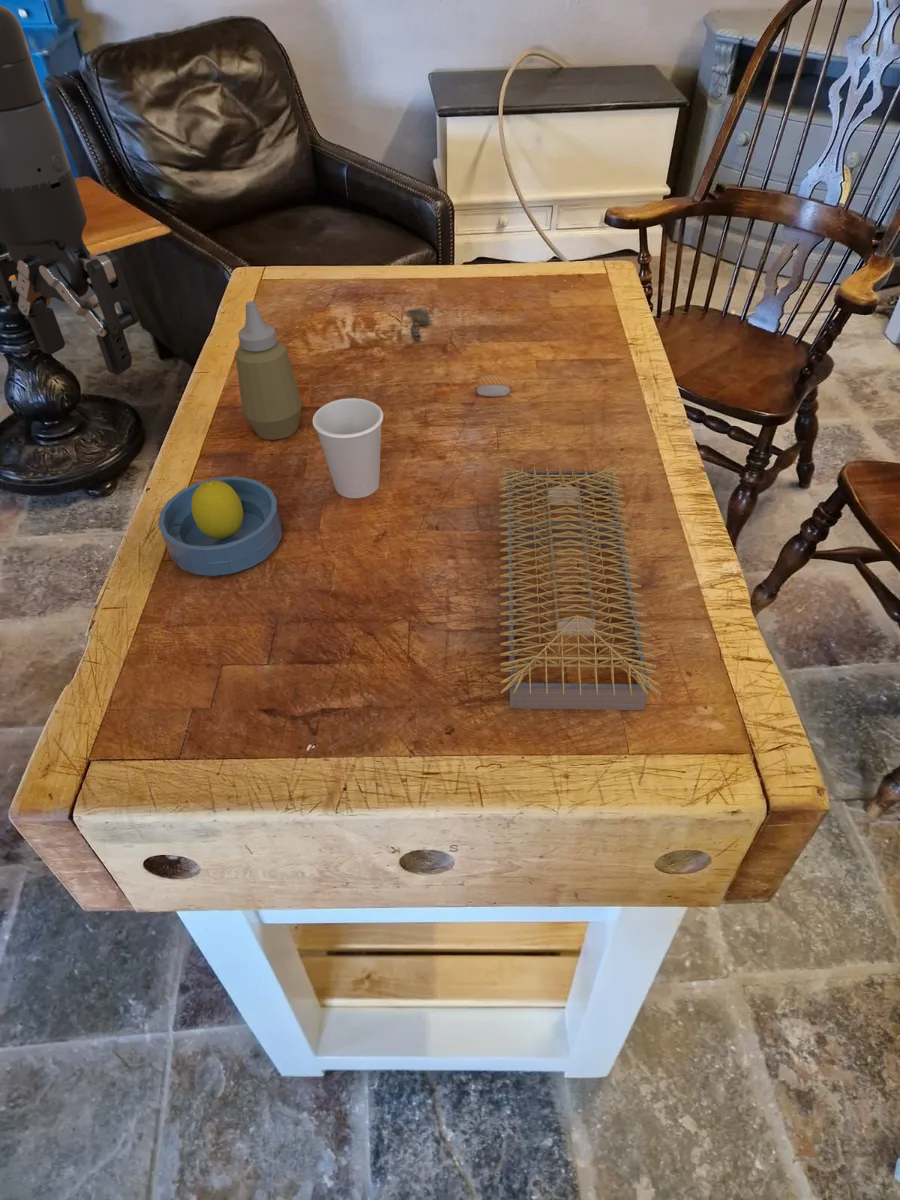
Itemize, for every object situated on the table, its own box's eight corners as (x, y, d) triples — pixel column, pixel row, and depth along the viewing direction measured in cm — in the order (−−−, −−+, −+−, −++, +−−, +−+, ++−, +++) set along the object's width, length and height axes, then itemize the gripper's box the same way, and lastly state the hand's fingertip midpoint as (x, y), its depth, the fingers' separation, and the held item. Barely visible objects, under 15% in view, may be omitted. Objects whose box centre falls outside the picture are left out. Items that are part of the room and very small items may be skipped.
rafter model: (499, 488, 100) (499, 447, 95) (615, 489, 99) (621, 447, 95) (500, 715, 75) (501, 673, 71) (655, 718, 74) (666, 675, 70)
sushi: (514, 398, 115) (514, 379, 112) (469, 398, 115) (469, 380, 113) (513, 389, 116) (514, 370, 114) (470, 389, 117) (469, 370, 115)
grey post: (437, 311, 135) (408, 311, 136) (437, 304, 134) (408, 304, 135) (424, 342, 127) (394, 341, 127) (424, 335, 126) (393, 334, 127)
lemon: (258, 529, 94) (244, 474, 89) (230, 558, 91) (214, 502, 85) (220, 517, 96) (204, 463, 91) (191, 545, 93) (172, 490, 87)
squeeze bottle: (318, 427, 111) (296, 301, 98) (271, 452, 107) (243, 324, 94) (282, 407, 115) (257, 283, 102) (236, 430, 111) (204, 305, 98)
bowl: (236, 593, 88) (226, 563, 84) (145, 558, 92) (133, 528, 89) (305, 524, 96) (299, 494, 93) (219, 495, 100) (210, 465, 97)
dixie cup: (320, 471, 103) (307, 403, 96) (383, 460, 105) (376, 392, 98) (329, 510, 98) (317, 441, 90) (396, 498, 99) (389, 429, 92)
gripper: (-83, 170, 63) (1, 361, 74) (44, 195, 58) (113, 396, 69) (-3, 145, 68) (64, 328, 79) (120, 167, 63) (173, 359, 74)
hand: (87, 360), depth 74 cm, fingers open, 8 cm apart
